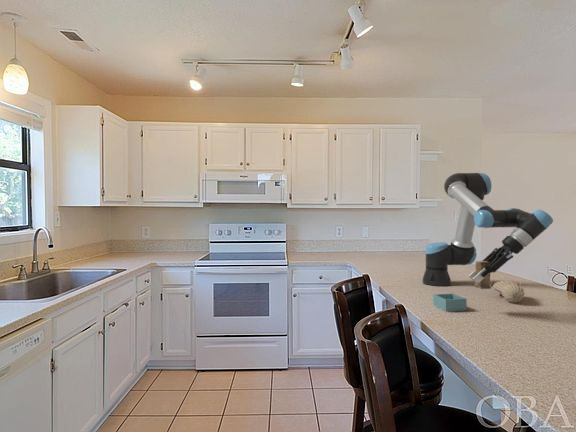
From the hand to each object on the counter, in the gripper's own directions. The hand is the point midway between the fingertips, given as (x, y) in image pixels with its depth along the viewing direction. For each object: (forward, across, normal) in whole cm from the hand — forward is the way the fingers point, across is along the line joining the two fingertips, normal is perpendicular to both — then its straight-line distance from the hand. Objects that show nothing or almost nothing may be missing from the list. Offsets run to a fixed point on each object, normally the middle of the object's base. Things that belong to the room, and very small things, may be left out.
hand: (473, 279), depth 149 cm
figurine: (-7, -28, +27) cm, 39 cm away
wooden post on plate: (0, 0, +5) cm, 5 cm away
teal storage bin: (+15, -4, +4) cm, 16 cm away
